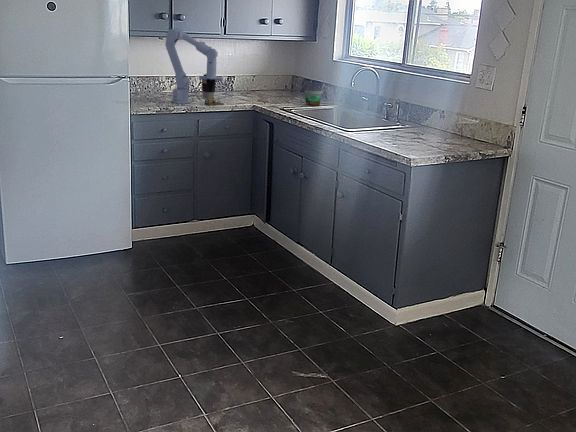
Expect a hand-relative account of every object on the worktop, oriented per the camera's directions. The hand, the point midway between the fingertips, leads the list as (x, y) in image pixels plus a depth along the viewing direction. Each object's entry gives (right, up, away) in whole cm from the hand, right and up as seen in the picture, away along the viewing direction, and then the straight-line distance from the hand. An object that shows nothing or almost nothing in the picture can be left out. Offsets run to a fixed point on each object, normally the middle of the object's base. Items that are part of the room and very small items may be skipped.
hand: (210, 92), depth 396 cm
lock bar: (0, -5, +4) cm, 7 cm away
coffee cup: (-5, +1, +28) cm, 28 cm away
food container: (+64, -4, +28) cm, 70 cm away
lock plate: (+1, -7, +5) cm, 9 cm away
